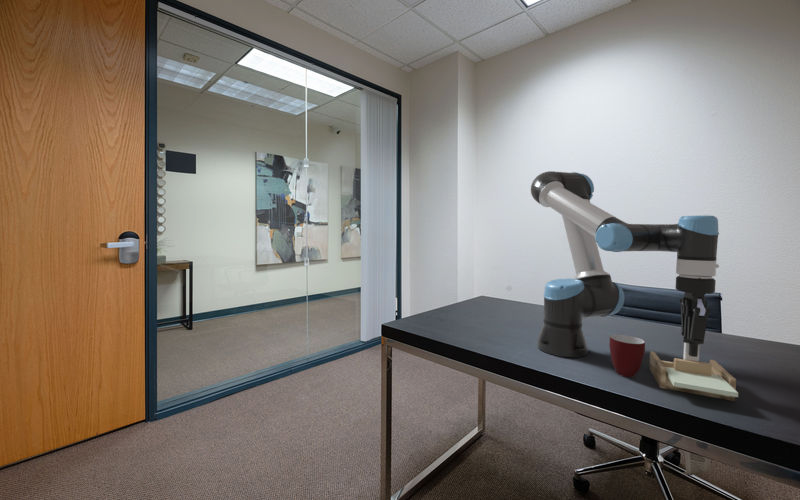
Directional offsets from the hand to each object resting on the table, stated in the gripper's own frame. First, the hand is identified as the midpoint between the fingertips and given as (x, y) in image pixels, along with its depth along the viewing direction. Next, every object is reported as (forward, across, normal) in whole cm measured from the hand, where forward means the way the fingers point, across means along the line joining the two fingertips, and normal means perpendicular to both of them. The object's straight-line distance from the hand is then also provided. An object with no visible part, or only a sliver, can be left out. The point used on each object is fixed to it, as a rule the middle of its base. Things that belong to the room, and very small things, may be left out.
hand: (690, 367), depth 85 cm
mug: (+5, +1, +14) cm, 15 cm away
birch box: (+5, +1, 0) cm, 5 cm away
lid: (+2, -6, 0) cm, 6 cm away
